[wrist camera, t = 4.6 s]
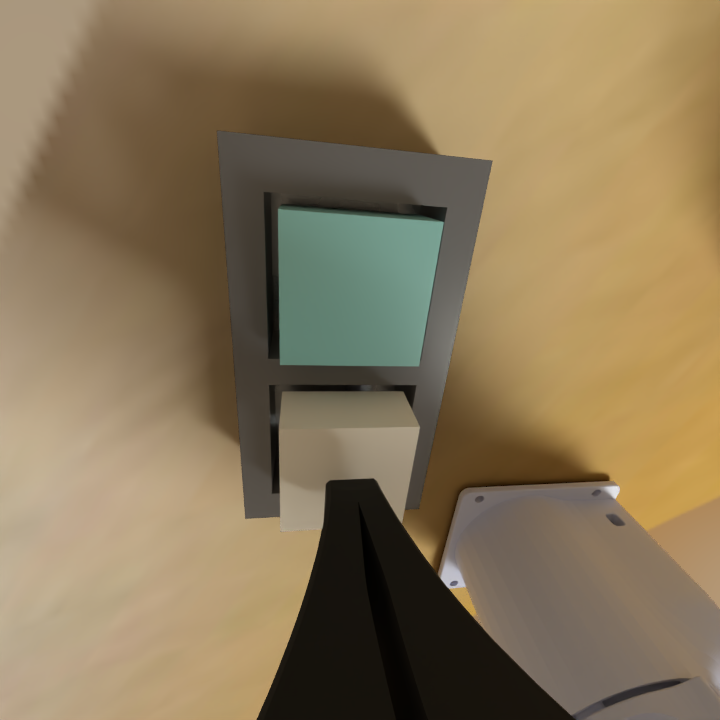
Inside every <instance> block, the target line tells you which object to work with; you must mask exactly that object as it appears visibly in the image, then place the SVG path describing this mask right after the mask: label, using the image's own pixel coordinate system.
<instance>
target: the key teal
mask: <svg viewBox="0 0 720 720" xmlns="http://www.w3.org/2000/svg"><path fill="white" fill-rule="evenodd" d="M443 224H444V222H442V221H439V220H435V219H432V218H429V217H426V216H422V215H416V214H403V213H391V212H378V211H366V210H354V209H341V208H329V207H316V206H304V205H292V204H281V206H280V207H279V208H278V252H279V331H280V365H327V366H419V364H420V358H421V352H422V346H423V340H424V335H425V329H426V323H427V317H428V311H429V305H430V300H431V294H432V288H433V282H434V276H435V271H436V265H437V259H438V253H439V247H440V241H441V236H442V230H443Z"/></svg>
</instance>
